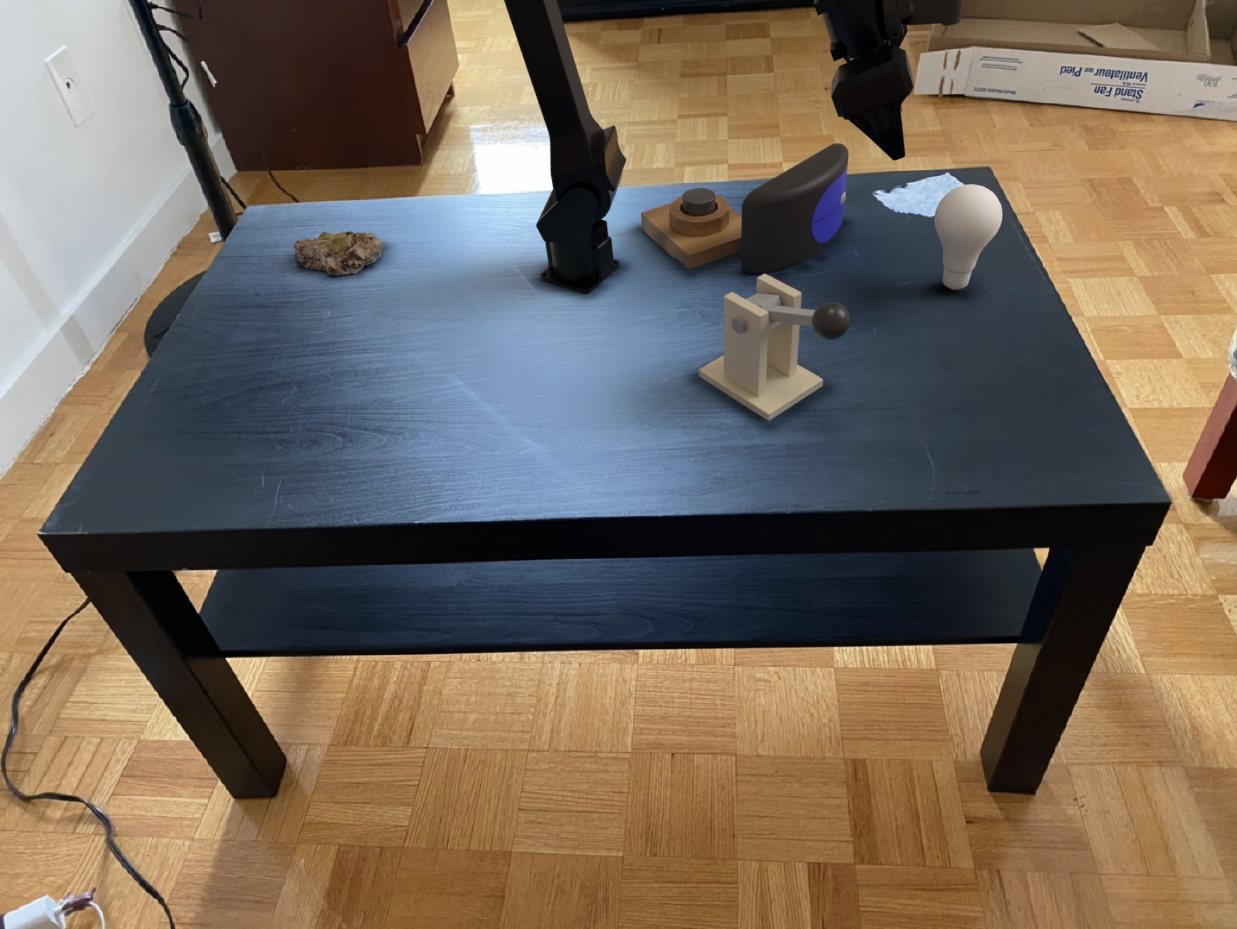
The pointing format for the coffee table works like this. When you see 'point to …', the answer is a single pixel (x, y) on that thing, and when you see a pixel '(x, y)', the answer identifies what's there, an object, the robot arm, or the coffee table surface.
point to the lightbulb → (965, 230)
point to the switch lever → (805, 316)
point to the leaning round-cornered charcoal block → (794, 213)
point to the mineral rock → (339, 252)
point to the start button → (698, 202)
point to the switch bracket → (761, 355)
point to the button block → (694, 232)
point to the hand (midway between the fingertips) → (898, 135)
